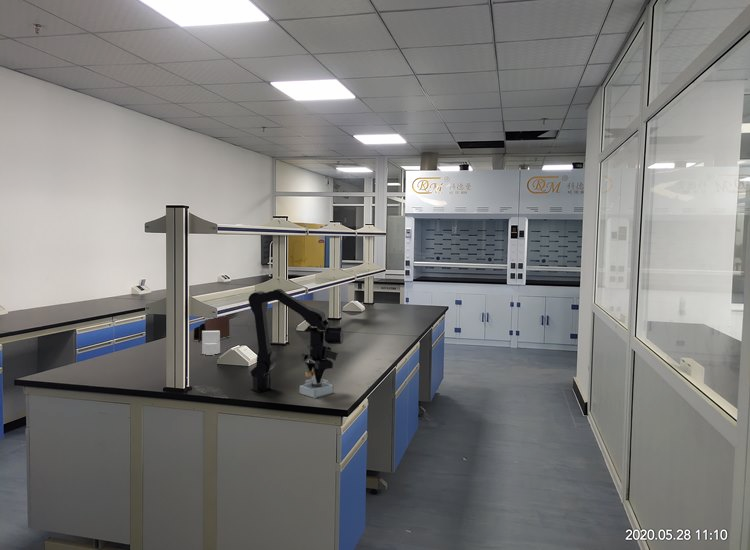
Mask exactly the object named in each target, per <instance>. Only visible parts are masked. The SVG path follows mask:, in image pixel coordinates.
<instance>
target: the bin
mask: <svg viewBox="0 0 750 550" xmlns="http://www.w3.org/2000/svg"><path fill="white" fill-rule="evenodd" d="M321 383H322V386H321V387H318V388H314V387H311V383H308V384H305V383H304V384H302V385H299V387H298V388H299V390H298V393H299V394H301V395H303V396H307V397H310V398H314V399H316V398H319V397H320V398H321V397H323V396H325V395H330V394H334V384H331V383H328V384H327V383H324V382H321Z"/></svg>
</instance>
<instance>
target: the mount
mask: <svg viewBox="0 0 750 550" xmlns="http://www.w3.org/2000/svg"><path fill="white" fill-rule="evenodd" d="M321 382H324V383H327V384H329V380H328V379H324V378H323V377H322V378H321ZM308 383H312V377H311V376H310V379H306V380H304V385H305V384H308Z"/></svg>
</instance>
